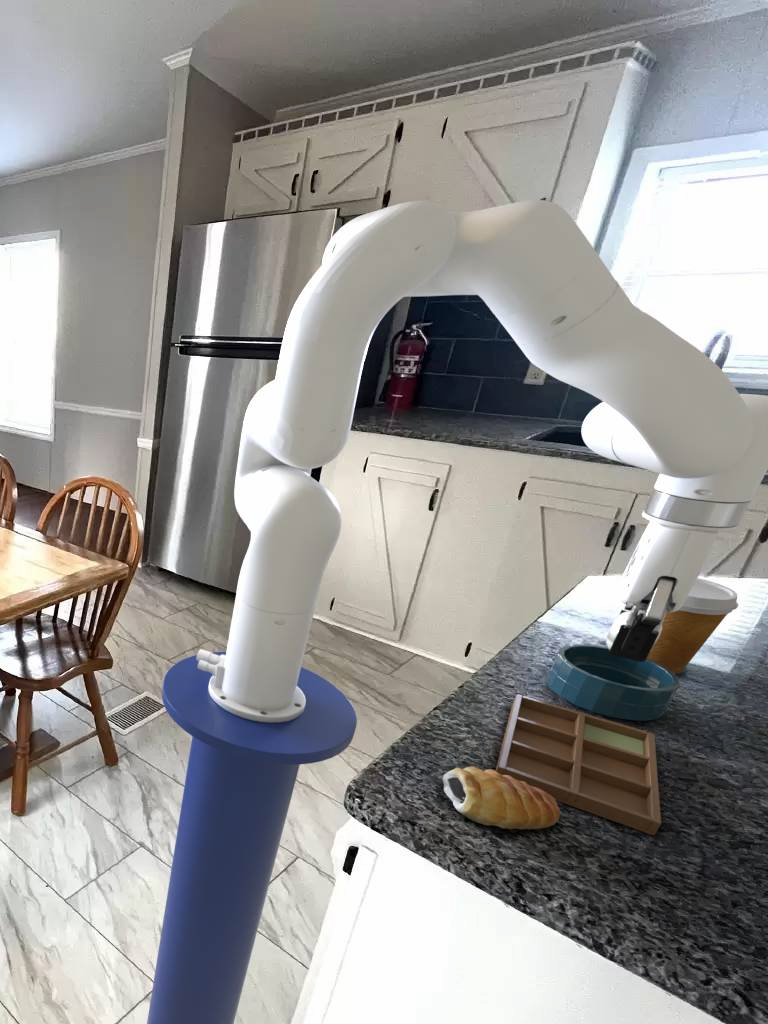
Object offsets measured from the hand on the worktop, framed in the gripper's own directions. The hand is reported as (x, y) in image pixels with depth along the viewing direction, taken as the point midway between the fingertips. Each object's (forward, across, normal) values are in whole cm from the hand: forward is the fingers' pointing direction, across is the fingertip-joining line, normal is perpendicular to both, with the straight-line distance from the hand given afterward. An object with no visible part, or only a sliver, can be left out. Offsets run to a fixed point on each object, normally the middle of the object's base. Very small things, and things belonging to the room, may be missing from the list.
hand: (626, 648), depth 79 cm
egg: (+1, 0, 0) cm, 1 cm away
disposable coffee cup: (+8, -16, +5) cm, 18 cm away
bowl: (+8, 0, 0) cm, 8 cm away
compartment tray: (+8, +18, -2) cm, 20 cm away
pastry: (+8, +33, -8) cm, 35 cm away
